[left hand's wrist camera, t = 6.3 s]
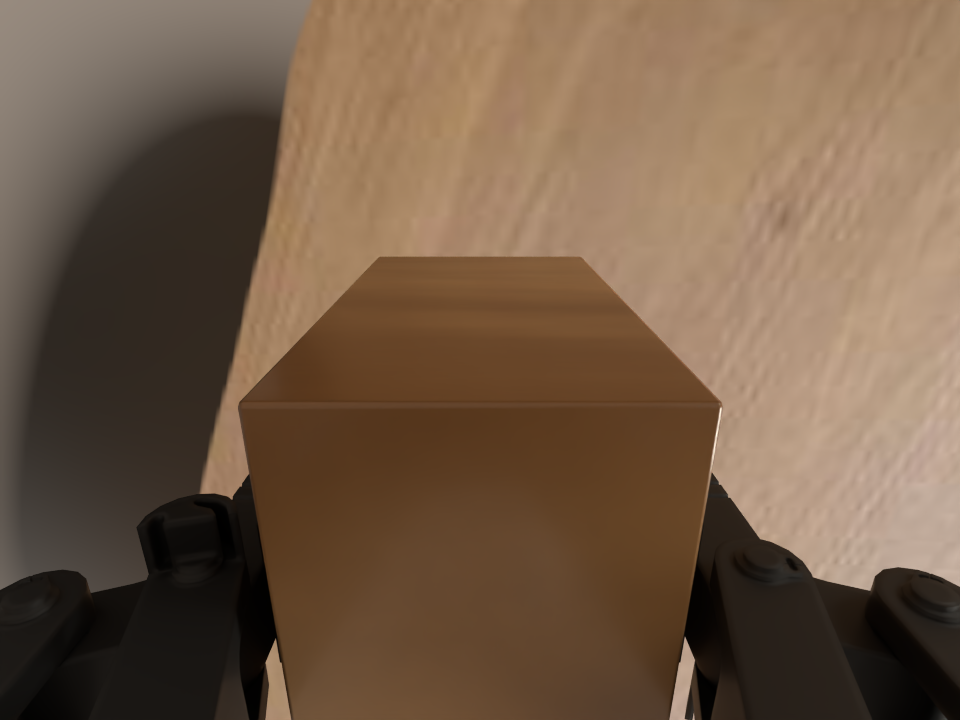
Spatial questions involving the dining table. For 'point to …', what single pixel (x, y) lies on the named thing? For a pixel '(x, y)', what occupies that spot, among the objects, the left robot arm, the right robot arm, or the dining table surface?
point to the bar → (480, 497)
